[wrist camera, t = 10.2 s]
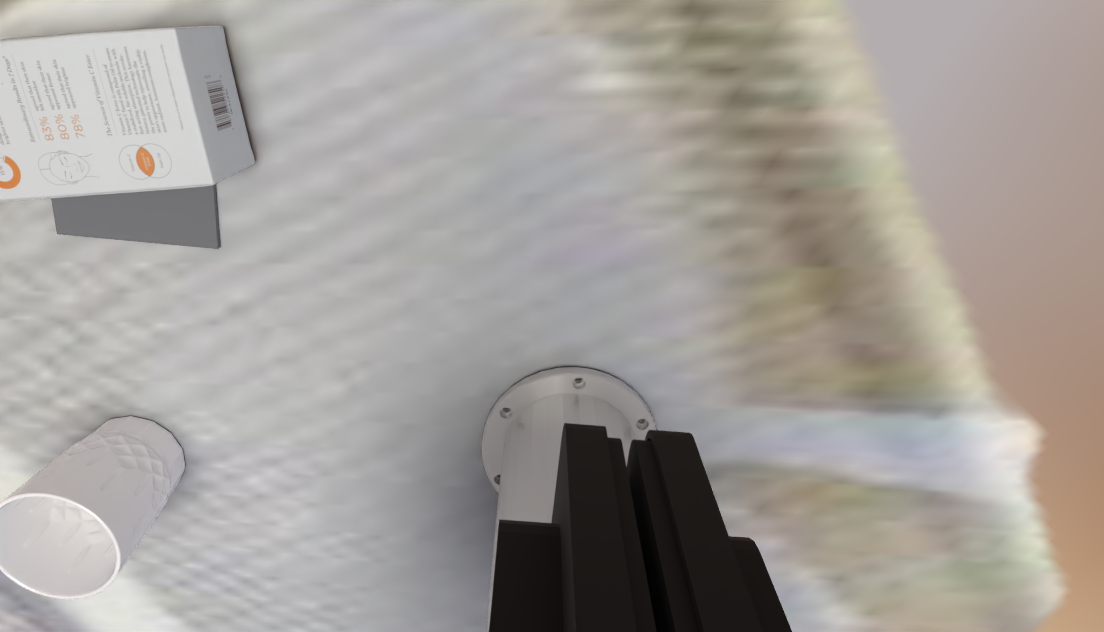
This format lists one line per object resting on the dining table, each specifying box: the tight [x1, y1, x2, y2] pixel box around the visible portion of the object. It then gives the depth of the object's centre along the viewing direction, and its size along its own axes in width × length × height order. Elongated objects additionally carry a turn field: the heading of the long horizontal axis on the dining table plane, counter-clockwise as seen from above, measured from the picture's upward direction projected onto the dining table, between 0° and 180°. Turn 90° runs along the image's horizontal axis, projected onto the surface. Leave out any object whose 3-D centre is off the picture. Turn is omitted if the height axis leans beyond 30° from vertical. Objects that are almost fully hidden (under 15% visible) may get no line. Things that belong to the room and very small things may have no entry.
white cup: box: [0, 416, 185, 599], centre depth 48 cm, size 8×8×10 cm
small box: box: [0, 26, 255, 202], centre depth 40 cm, size 8×6×13 cm
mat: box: [51, 184, 220, 249], centre depth 44 cm, size 11×10×1 cm
